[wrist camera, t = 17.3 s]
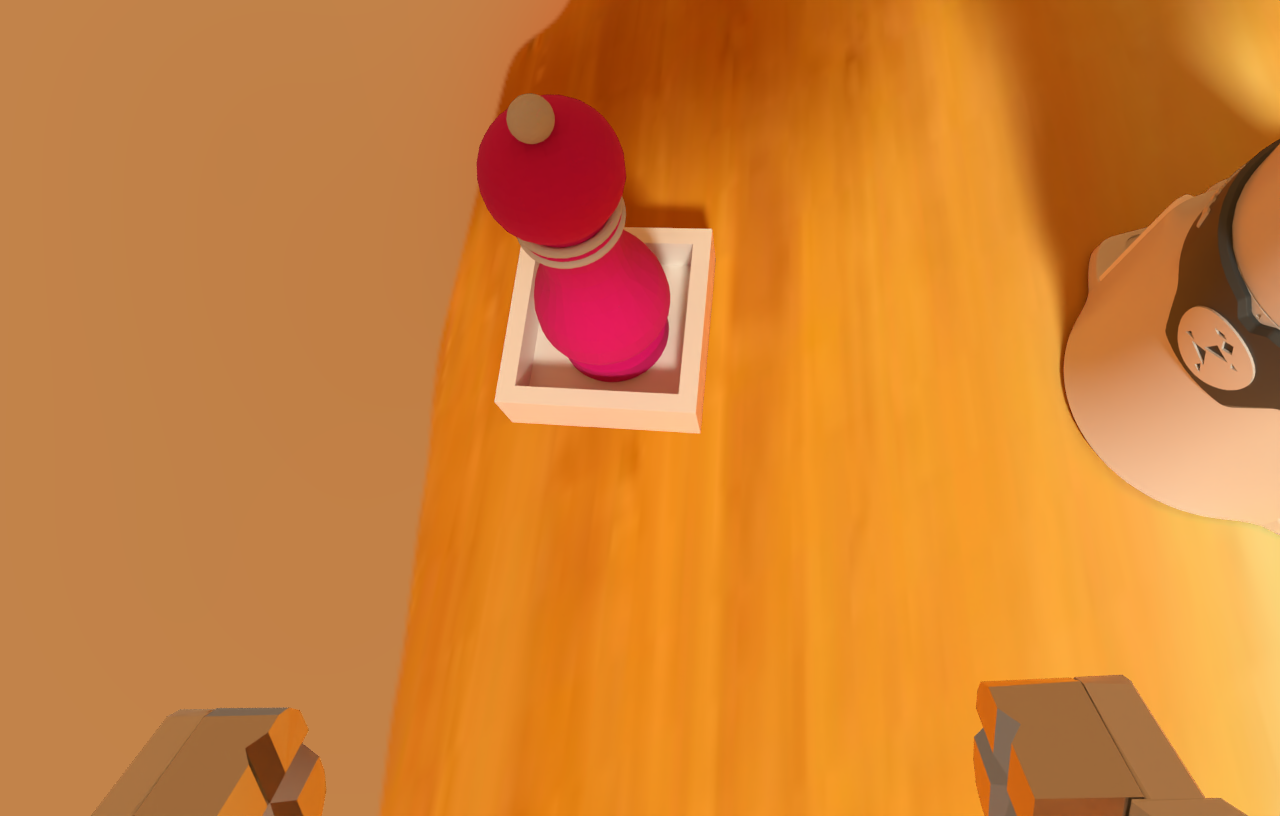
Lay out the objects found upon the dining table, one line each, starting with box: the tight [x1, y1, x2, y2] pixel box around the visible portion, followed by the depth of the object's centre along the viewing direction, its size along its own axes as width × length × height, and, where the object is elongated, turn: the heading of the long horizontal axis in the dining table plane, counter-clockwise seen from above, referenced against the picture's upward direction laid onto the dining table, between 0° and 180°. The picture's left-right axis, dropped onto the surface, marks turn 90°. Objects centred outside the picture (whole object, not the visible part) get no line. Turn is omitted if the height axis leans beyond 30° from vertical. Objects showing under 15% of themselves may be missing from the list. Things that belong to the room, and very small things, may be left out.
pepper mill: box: [477, 93, 670, 382], centre depth 40 cm, size 7×7×20 cm
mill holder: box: [495, 227, 716, 433], centre depth 48 cm, size 11×11×4 cm
